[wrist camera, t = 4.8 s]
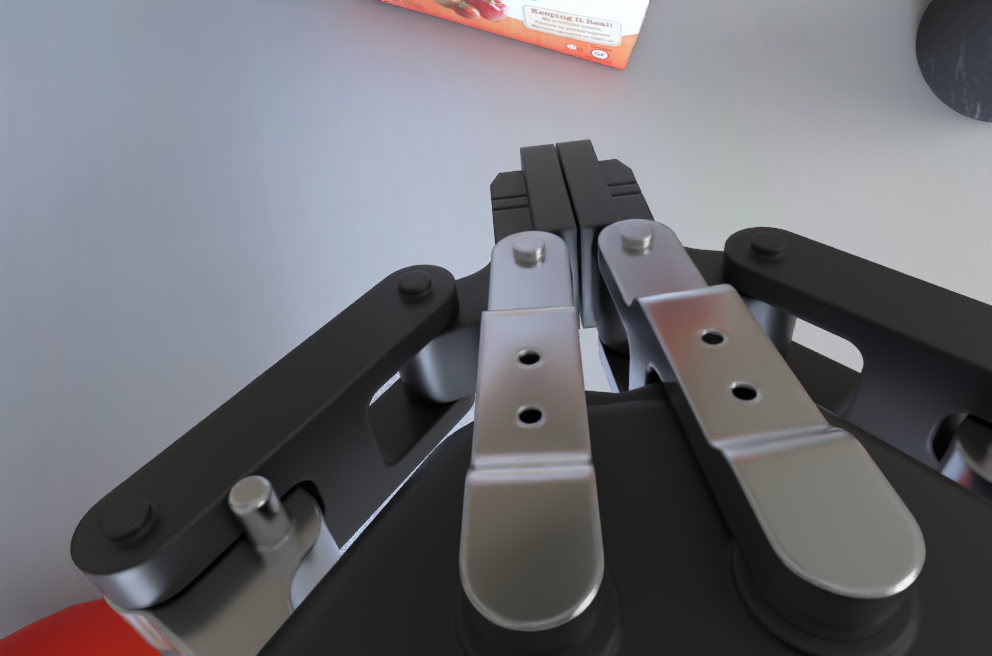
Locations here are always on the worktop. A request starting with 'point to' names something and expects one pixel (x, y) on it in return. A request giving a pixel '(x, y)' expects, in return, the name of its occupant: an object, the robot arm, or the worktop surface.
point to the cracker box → (551, 23)
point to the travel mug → (958, 54)
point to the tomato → (78, 635)
